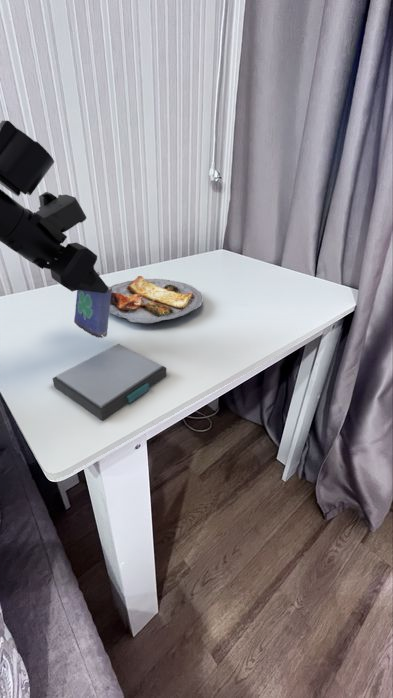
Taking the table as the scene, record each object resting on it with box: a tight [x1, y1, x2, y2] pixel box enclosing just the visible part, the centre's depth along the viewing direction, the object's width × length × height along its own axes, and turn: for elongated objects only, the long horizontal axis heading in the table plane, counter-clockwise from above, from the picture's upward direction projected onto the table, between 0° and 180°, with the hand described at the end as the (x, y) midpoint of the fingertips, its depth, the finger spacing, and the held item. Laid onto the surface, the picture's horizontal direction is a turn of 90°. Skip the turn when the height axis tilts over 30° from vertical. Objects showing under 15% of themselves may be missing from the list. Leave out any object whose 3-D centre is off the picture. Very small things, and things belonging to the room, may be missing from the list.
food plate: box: [109, 275, 204, 324], centre depth 81 cm, size 25×23×4 cm
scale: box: [52, 343, 167, 422], centre depth 55 cm, size 14×12×2 cm
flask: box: [73, 271, 112, 339], centre depth 59 cm, size 9×3×11 cm, turn 45°
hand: (93, 282), depth 58 cm, fingers closed on flask, 9 cm apart
